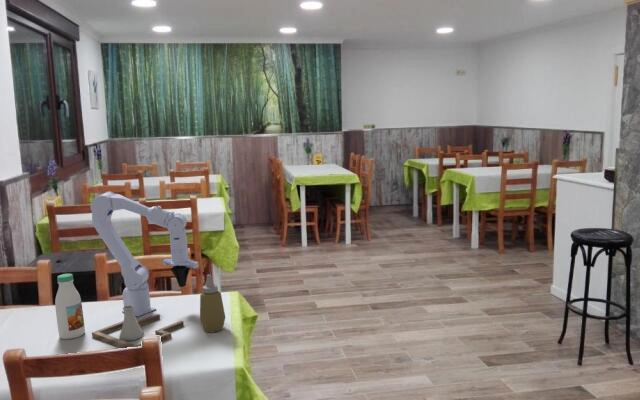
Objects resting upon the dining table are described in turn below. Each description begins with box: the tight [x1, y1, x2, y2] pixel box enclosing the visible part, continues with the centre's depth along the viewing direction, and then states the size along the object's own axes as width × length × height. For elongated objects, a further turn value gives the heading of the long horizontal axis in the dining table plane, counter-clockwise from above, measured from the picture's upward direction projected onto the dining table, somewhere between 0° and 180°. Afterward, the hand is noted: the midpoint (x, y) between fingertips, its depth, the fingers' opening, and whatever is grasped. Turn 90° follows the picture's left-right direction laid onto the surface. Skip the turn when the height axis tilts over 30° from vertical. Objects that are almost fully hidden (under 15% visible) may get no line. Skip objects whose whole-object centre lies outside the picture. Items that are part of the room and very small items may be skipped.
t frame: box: [91, 313, 185, 349], centre depth 178 cm, size 23×22×2 cm
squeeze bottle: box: [199, 274, 226, 333], centre depth 177 cm, size 8×8×18 cm
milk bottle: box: [54, 273, 86, 340], centre depth 178 cm, size 8×8×20 cm
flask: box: [118, 305, 145, 342], centre depth 174 cm, size 7×7×10 cm
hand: (182, 286), depth 197 cm, fingers closed
